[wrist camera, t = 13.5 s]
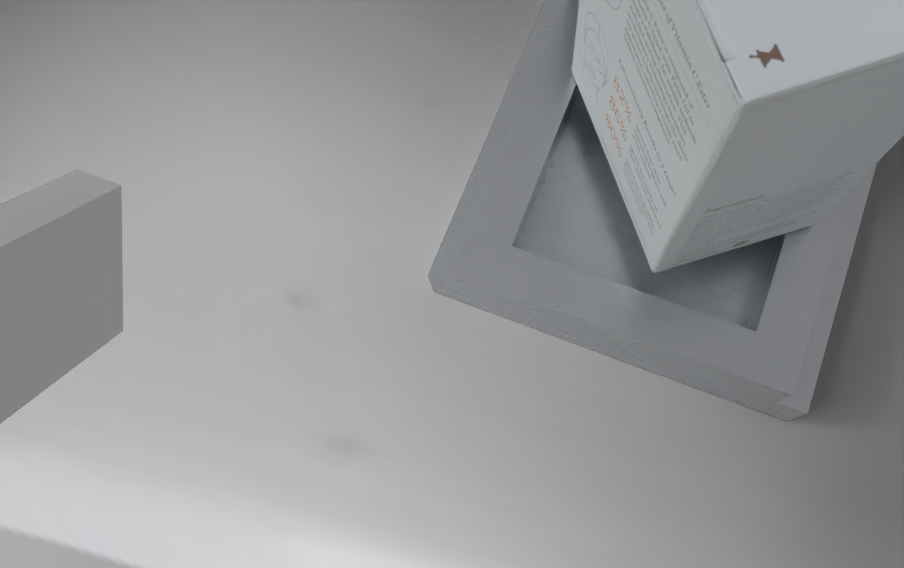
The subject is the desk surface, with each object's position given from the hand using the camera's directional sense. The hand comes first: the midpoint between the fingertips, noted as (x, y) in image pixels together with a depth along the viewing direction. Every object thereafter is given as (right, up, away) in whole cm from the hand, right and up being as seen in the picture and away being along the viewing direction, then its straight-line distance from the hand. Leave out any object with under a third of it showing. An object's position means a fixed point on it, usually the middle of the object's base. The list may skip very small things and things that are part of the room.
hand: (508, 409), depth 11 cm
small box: (+7, +6, +14) cm, 17 cm away
